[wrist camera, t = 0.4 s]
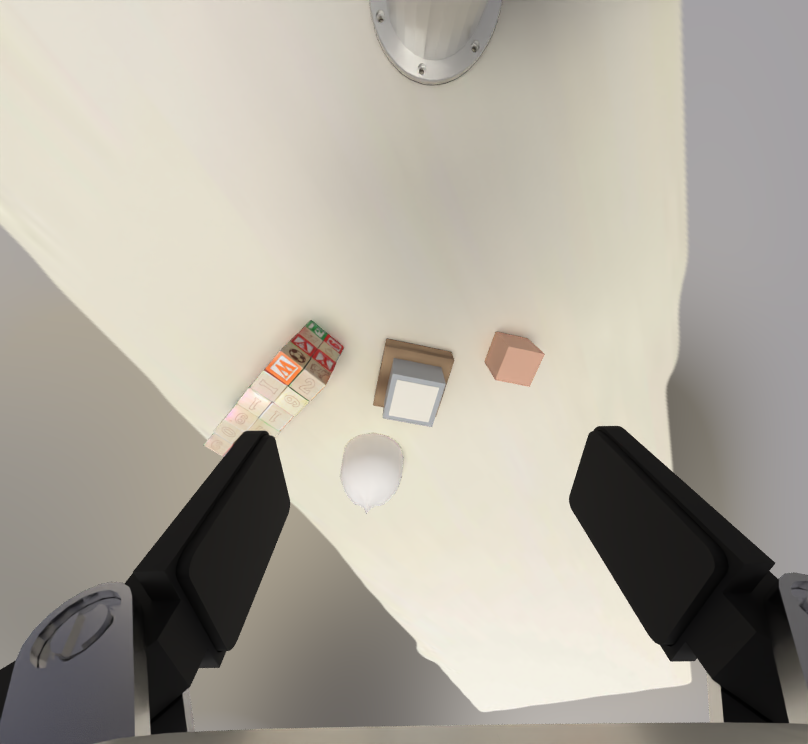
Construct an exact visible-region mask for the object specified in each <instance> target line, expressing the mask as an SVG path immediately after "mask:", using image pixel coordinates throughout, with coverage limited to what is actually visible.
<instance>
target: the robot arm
mask: <svg viewBox="0 0 808 744" xmlns="http://www.w3.org/2000/svg"><path fill="white" fill-rule="evenodd" d="M369 1H370V10H371V16H372V22H373V25H374V29H375V32H376V35H377V38H378V40H379V43H380V45H381V47H382V49H383V51H384V53H385V54H386V56H387V57H388V59H389V60H390V62H391V63H392V64H393V65H394V66H395V67H396V68H397V69H398V70H399V71H400V72H401V73H402V74H404V75H405V76H407V77H408V78H410V79H411V80H414V81H416V82H419V83H422V84H431V85H436V84H442V83H446V82H449V81H451V80H454V79H456V78H458V77H459V76H461V75H462V74H463V73H465V72H466V71H467V70H468V69H469V68H470V67H471V66H472V65H473V64H474V63H475V62H476V61H477V60H478V58H479V57H480V56H481V54H482V53H483V51H484V50H485V48H486V46H487V44H488V42H489V40H490V38H491V36H492V34H493V31H494V29H495V26H496V24H497V21H498V17H499V13H500V9H501V5H502V0H369ZM379 19H383V22H382V23H379V22H378V21H379ZM472 48H475V49H476V52H473V51H472ZM420 70H423V71H424V74H423V75H421V74H420V73H419V71H420ZM569 503H570V507H571V509H572V511H573V512H574V514H575V516H576V517H577V519H578V521H579V522H580V524H581V526H582V527H583V529H584V530H585V532H586V534H587V535H588V537H589V539H590V540H591V542H592V544H593V545H594V547H595V548H596V550H597V552H598V553H599V555H600V557H601V558H602V560H603V561H604V563H605V565H606V566H607V568H608V570H609V571H610V573H611V575H612V576H613V578H614V579H615V581H616V583H617V584H618V586H619V588H620V589H621V591H622V593H623V594H624V596H625V597H626V599H627V601H628V602H629V604H630V606H631V607H632V609H633V611H634V612H635V614H636V615H637V617H638V619H639V620H640V622H641V624H642V625H643V627H644V628H645V630H646V632H647V633H648V635H649V636H650V638H651V639H652V640H653V641H654V642H655V643H657V644H659V645H660V646H661V647H662V649H663V650H664V652H665V654H666V655H667V657H668V658H669V660H670V661H695V660H696V659H697V658H698V660H699V661H700V663H701V664H702V665H703V667H704V668H705V670H706V671H707V683H708V700H709V714H710V723H608V724H607V723H602V724H601V723H600V724H599V723H598V724H519V725H453V726H451V725H450V726H449V725H447V726H393V727H392V726H386V727H336V728H291V729H290V728H286V729H250V730H228V731H204V732H195V728H194V720H193V714H192V707H191V699H190V693H189V687H190V686H191V683H192V681H193V679H194V677H195V675H196V673H197V671H198V668H219V667H220V665H221V663H222V660H223V658H224V655H225V653H226V651H229V650H231V649H232V648H233V647H234V645H235V644H236V642H237V640H238V637H239V635H240V632H241V630H242V627H243V625H244V622H245V620H246V617H247V615H248V612H249V610H250V607H251V605H252V602H253V600H254V597H255V595H256V592H257V590H258V587H259V585H260V583H261V580H262V578H263V575H264V573H265V570H266V568H267V565H268V563H269V560H270V558H271V555H272V553H273V550H274V548H275V545H276V543H277V541H278V538H279V535H280V533H281V531H282V528H283V526H284V523H285V521H286V518H287V516H288V513H289V508H290V498H289V494H288V490H287V486H286V482H285V478H284V474H283V469H282V465H281V461H280V457H279V453H278V449H277V445H276V440H275V437H274V436H272V435H269V433H268V432H267V431H245V432H244V433H243V434H242V435H241V436H240V437H239V439H238V440H237V441H236V442H235V444H234V445H233V446H232V447H231V449H230V450H229V451H228V452H227V454H226V455H225V456H224V457H223V459H222V460H221V461H220V463H219V464H218V465H217V466H216V468H215V469H214V470H213V471H212V473H211V474H210V475H209V477H208V478H207V479H206V480H205V481H204V483H203V484H202V485H201V487H200V488H199V489H198V490H197V492H196V493H195V494H194V495H193V497H192V498H191V500H189V502H188V503H187V504H186V506H185V507H184V508H183V509H182V511H181V512H180V513H179V514H178V516H177V517H176V518H175V519H174V521H173V522H172V523H171V524H170V526H169V527H168V528H167V530H166V531H165V532H164V533H163V535H162V536H161V537H160V538H159V540H158V541H157V542H156V543H155V545H154V546H153V547H152V548H151V550H150V551H149V552H148V554H147V555H146V556H145V557H144V559H143V560H142V561H141V562H140V564H139V565H138V566H137V568H136V569H135V570H134V571H133V574H132V575H131V576H130V578H129V579H128V580H127V581H126V583H125V584H124V583H121V582H108V583H104V584H99V585H97V586H94V587H92V588H89V589H87V590H84V591H82V592H81V593H79V594H77V595H76V596H74V597H72V598H71V599H69V600H68V601H66V602H64V603H63V604H62V605H61V606H59V607H58V608H57V609H55V610H54V611H53V612H52V613H50V614H49V615H48V616H47V617H46V618H45V619H44V620H43V621H42V622H41V623H40V624H39V625H38V626H37V627H36V628H35V629H34V630H33V632H32V633H31V634H30V636H29V637H28V638H27V640H26V641H25V643H24V644H23V645H22V648H21V650H20V652H19V654H18V657H17V659H16V661H14V662H13V663H11V664H9V665H7V666H6V667H4V668H3V669H1V670H0V744H808V575H805V574H800V573H787V574H784V575H782V576H781V577H780V578H779V579H777V578H776V577H775V576H774V575H773V574H772V573H771V572H770V571H769V570H770V569H771V568H772V567H773V565H774V564H775V562H774V561H772V560H771V559H770V558H769V557H768V556H767V555H766V554H765V553H763V552H762V551H761V550H760V549H759V548H758V547H757V546H756V545H754V544H753V543H752V542H751V541H750V540H749V539H748V538H747V537H745V536H744V535H743V534H742V533H741V532H740V531H739V530H737V529H736V528H735V527H734V526H733V525H732V524H731V523H729V522H728V521H727V520H726V519H725V518H724V517H723V516H722V515H721V514H719V513H718V512H717V511H716V510H715V509H714V508H713V507H712V506H710V505H709V504H708V503H707V502H706V501H705V500H704V499H703V498H701V497H700V496H699V495H698V494H697V493H696V492H695V491H694V490H692V489H691V488H690V487H689V486H688V485H687V484H686V483H684V482H683V481H682V480H681V479H680V478H679V477H678V476H677V475H675V474H674V473H673V472H672V471H671V470H670V469H669V468H668V467H666V466H665V465H664V464H663V463H662V462H661V461H660V460H659V459H657V458H656V457H655V456H654V455H653V454H652V453H651V452H650V451H648V450H647V449H646V448H645V447H644V446H643V445H642V444H640V443H639V442H638V441H637V440H636V439H635V438H634V437H633V436H631V435H630V434H629V433H628V432H627V431H626V430H625V429H623V428H622V427H620V426H599V427H596V428H595V429H594V431H592V432H590V433H589V435H588V438H587V441H586V445H585V448H584V451H583V454H582V457H581V461H580V464H579V467H578V470H577V473H576V477H575V480H574V483H573V486H572V490H571V493H570V496H569Z"/></svg>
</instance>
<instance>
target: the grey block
mask: <svg viewBox="0 0 808 744" xmlns="http://www.w3.org/2000/svg"><path fill="white" fill-rule="evenodd" d="M445 385H446V383H445V379H444V375H443V372H442V368H441V367H437V366H432V365H427V364H422V363H417V362H412V361H407V360H402V359H397V358H394V359H393V364H392V368H391V373H390V377H389V381H388V386H387V390H386V395H385V400H384V409H383V418H384V419H390V420H396V421H401V422H407V423H412V424H418V425H424V426H429V427H432V425H433V422H434V419H435V416H436V413H437V410H438V407H439V404H440V401H441V398H442V394H443V391H444V388H445Z"/></svg>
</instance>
